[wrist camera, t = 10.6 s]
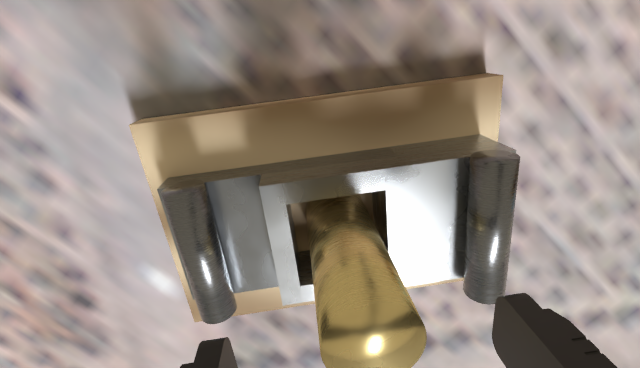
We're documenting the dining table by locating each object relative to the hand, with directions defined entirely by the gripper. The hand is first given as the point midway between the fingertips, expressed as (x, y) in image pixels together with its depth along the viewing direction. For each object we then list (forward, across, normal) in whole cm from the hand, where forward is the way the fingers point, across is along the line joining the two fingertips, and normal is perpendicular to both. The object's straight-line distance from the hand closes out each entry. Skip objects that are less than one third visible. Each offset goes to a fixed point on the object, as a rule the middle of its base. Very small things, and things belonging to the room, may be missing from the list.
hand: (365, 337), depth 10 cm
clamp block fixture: (+10, 0, 0) cm, 10 cm away
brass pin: (+9, 0, 0) cm, 9 cm away
